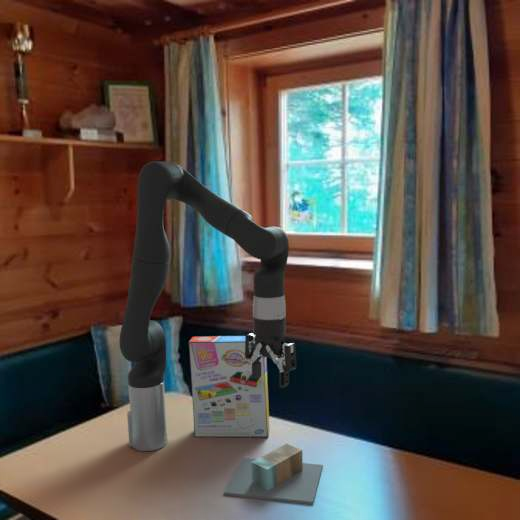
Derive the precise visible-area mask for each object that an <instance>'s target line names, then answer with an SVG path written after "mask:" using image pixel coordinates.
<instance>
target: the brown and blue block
mask: <svg viewBox="0 0 520 520" xmlns="http://www.w3.org/2000/svg"><path fill="white" fill-rule="evenodd" d="M255 459H256V460H254V461H253V462H251V468H252V483H254V484H256V485H258V486H260V487H262V488H264V489H266V490H270V489H271V488H273V487H275V486H277V485H278V484H280V483H282V482H283V481H285V480H287V479H288V478H290V477H292V476H293V475H295V474H297V473H298V472H300V471H302V470H303V463H304V462H303V449H300V448H298V447H295V446H293V445H291V444H288V443H285V444H283V445H281V446H279V447H277V448H276V449H274V450H272V451H270V452H268V453H265V454H264V455H262V456H261V457H259V458H255Z"/></svg>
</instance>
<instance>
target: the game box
mask: <svg viewBox="0 0 520 520" xmlns="http://www.w3.org/2000/svg"><path fill="white" fill-rule="evenodd" d="M245 336H246V335H215V336H214V335H212V336H211V335H209V336H206V335H205V336H203V335H202V336H198V335H197V336H192V337H191V339H190V340H189V341H188V349H189V350H188V351H189V367H190V381H191V383H190V384H191V395H192V397H191V398H192V412H193V416H192V417H193V435H194V437H196V438H197V437H199V438H200V437H202V438H203V437H204V438H205V437H212V438H213V437H215V438H217V437H219V438H221V437H223V438H253V437H254V438H256V437H257V438H258V437H259V438H262V437H263V438H268V437H269V436H270V411H269V409H270V407H269V387H268V363H267V362H268V360H267V358H268V357H262V359H261V360H260V362H261V377H259V378H257V379H255V378H253V375H252V363H251V361H250V359H246V358H245ZM256 348H257V345H256ZM250 352H251V349H250Z"/></svg>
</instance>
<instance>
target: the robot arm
mask: <svg viewBox="0 0 520 520" xmlns="http://www.w3.org/2000/svg"><path fill="white" fill-rule="evenodd" d="M137 181H138V182H137V215H136V216H137V218H136V227H135V237H134V238H135V239H134V246H133V253H132V261H131V267H130V268H131V269H130V270H131V271H130V278H129V279H130V281H129V286H128V293H127V300H126V307H125V311H124V316H123V319H122V320H123V321H122V323H121V324H122V325H121V329H120V332H119V342H118V343H119V350H120V352H121V355H122V357H123V358H124V359H125V360H126V361H128V362H131V363H134V366H133V367H132V368H131V369H130V371H129V372H128V374H127V381H128V383H127V384H128V395H129V410H128V412H127V414H126V417H127V432H128V444H129V446H128V447H129V448H133V449H135V450H137V451H141V452H150V451H151V452H152V451H157V450H159V449H162V448H163V447H165V446H166V445H167V444H168V430H167V429H168V427H167V413H166V411H167V410H166V396H165V395H166V394H165V380H164V379H165V377H164V376H165V372H166V370H167V340H166V335H165V334H166V333H165V331H164V328H163V327H162V326H161V324H160V323H159V322H157V321H155V320H152V319H151V315H152V312H153V309H154V307H155V304H156V302H157V300H158V299H159V297H160V296H161V293H162V292H163V290H164V287H165V285H166V282H167V280H168V276H169V269H170V263H171V247H170V244H169V239H168V236H167V234H166V231H165V229H164V228H165V227H164V214H165V207H166V202H167V200H176V201H178V202H181V203H184V204H186V205H188V206H190V207H191V208H193V209H194V210H196V212H198V214H200V215H201V217H202V218H203V219H204V221H205V222H206V223H208V224H209V225H210V226H211V227H213V229H215V230H217V231H218V232H220V233H222V234H223V235H225V236H226V237H228V238H229V239H232V240H233V241H234V242H235V243H236V244H237V245H238V246H239V247H240V248H241V249H242V250H243V251H245V252H246V253H247V254H248V255H249V256H251V257H253V258H254V259H257V260H260V263H259V264H260V265H259V267H258V269H256V271H255V272H254V275H253V301H252V328H253V329H252V331H253V332H250V333H248V334H246V335H244V336H245V358H246V359H250V361H251V363H252V375H253V378H255V379H257V378H259V377H261V362H260V360H261V359H262V357H266V358H268V359H270V360H272V361H273V363H274V364H275V365H276V366H277V368H278V370H279V372H278V375H279V376H278V377H279V378H278V381H279V383H278V387H280V388H282V389H283V388H286V387H288V385H289V383H290V372H291V371H293V370H296V369H297V351H296V349H297V346H296V343H294V342H292V343H286V342H285V338H284V337H285V335H286V333H287V331H286V330H287V327H286V326H287V325H286V324H287V323H286V322H287V318H286V317H287V316H286V315H287V314H286V313H287V312H286V311H287V310H286V308H287V307H286V305H287V304H286V297H285V274H286V268H287V263H288V258H289V251H290V244H289V243H290V242H289V238H288V235H287V233H286V231H285V230H284V229H282V228H281V227H279V226H269V227H262V226H260V225H259V224H257V223H256V222H255V221H254V218H253V217H252V215H250V213H249V212H246V211H245V210H244V209H242V208H240V207H238V206H237V205H235V204H233V203H231V202H230V201H229V200H226V199H225V198H223V197H221V196H219V195H218V194H216V193H215V192H213V191H212V190H211V189H209V188H208V187H206V186H205V185H204V184H203V183H201V182H200V181H199V180H198V179H196V178H195V177H194V176H193V175H192V174H191V173H190V172H189V171H187V170H186V169H185V168H183V167H182V166H181V165H180V164H178V163H176V162H170V161H159V160H158V161H149V162H147V163H145V165H143V166H142V168H141V169H140V172H139V175H138V180H137ZM256 345H257V348H256ZM250 349H251V352H250Z"/></svg>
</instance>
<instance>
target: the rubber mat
mask: <svg viewBox="0 0 520 520" xmlns="http://www.w3.org/2000/svg"><path fill="white" fill-rule="evenodd" d="M256 459H257V458H251V457H242V458H241V459H240V462H239V463H238V465H237V467H236V469H235V471H234V473H233V474H232V476H231V478H230V480H229V481H228V483H227V485H226V487H225V489H224V491H223V495H224V496H233V497H242V498H248V499H249V498H251V499H259V500H260V499H261V500H270V501H276V502H277V501H280V502H287V503H288V502H289V503H297V504H306V505H307V504H308V505H314V503H315V498H316V493H317V490H318V487H319V483H320V479H321V476H322V471H323V468H324V467H323V466H324V465H323V464H319V463H318V464H317V463H307V462H303V470H302V471H300V472H298V473H297V474H295V475H293V476H292V477H290V478H288V479H287V480H285V481H283V482H282V483H280V484H278V485H277V486H275V487H273V488H271V489H270V490H266V489H264V488H262V487H260V486H258V485H256V484H254V483H252V468H251V462H253V461H254V460H256Z"/></svg>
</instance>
